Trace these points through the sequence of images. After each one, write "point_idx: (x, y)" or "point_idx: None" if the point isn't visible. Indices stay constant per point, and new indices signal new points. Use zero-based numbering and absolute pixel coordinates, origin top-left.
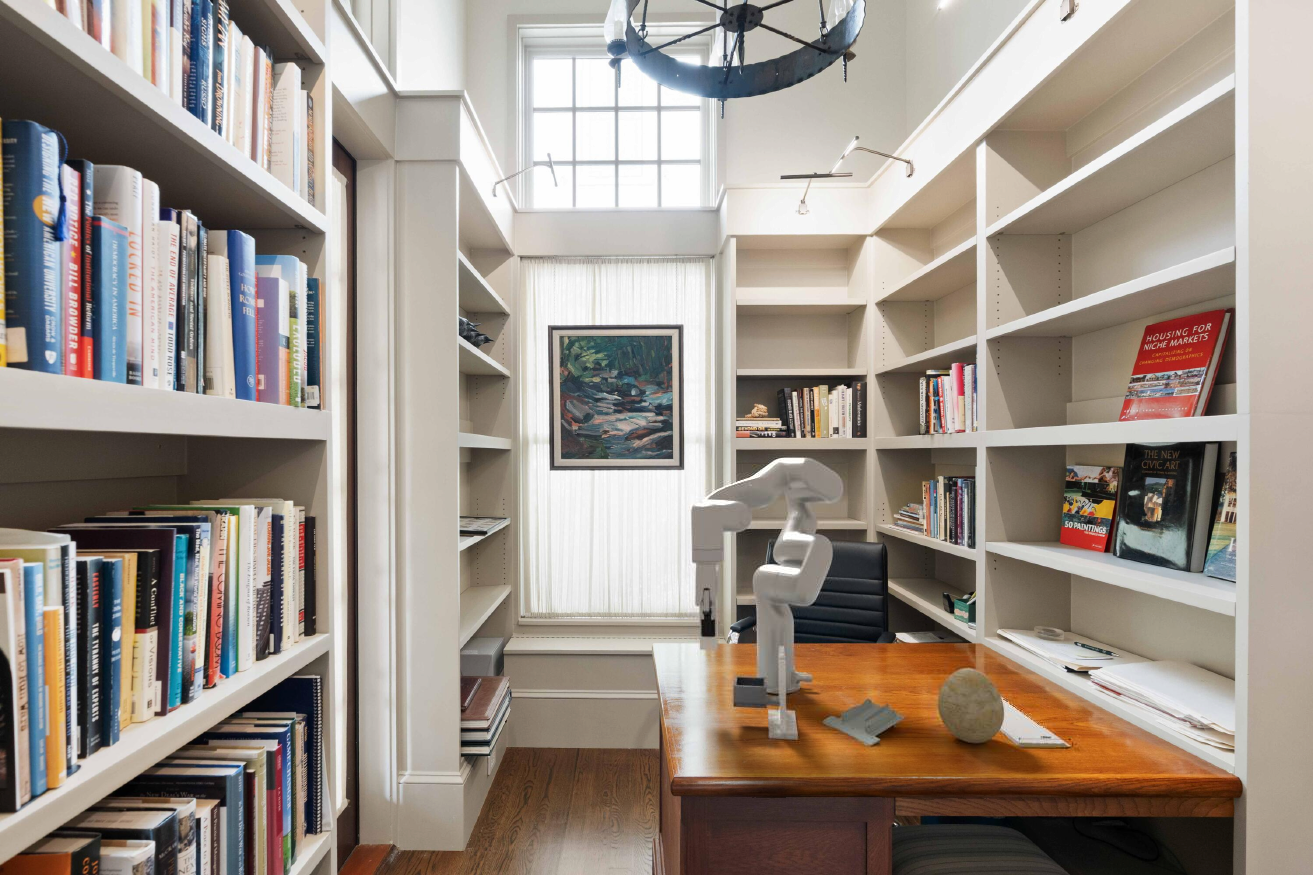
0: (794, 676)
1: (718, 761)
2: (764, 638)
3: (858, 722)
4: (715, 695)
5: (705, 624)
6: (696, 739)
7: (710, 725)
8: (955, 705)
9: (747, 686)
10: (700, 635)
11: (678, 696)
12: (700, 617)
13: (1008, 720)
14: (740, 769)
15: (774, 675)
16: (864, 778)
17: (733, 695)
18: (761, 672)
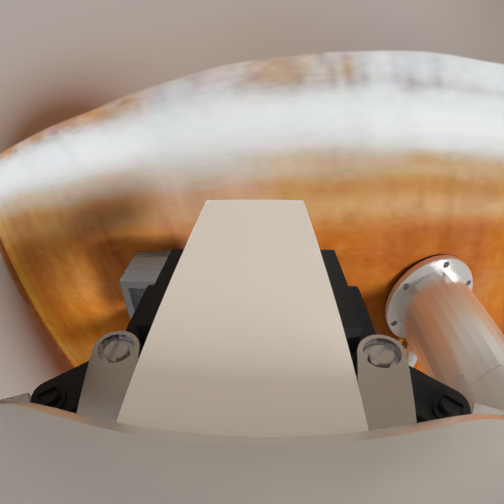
0: (410, 347)
1: (24, 213)
2: (458, 365)
3: None
4: (385, 172)
5: (132, 327)
6: (84, 158)
7: (165, 174)
8: None
9: (129, 312)
10: (192, 238)
11: (370, 74)
12: (158, 327)
13: None
14: (18, 246)
15: (410, 320)
16: (72, 368)
17: (128, 266)
18: (432, 296)
